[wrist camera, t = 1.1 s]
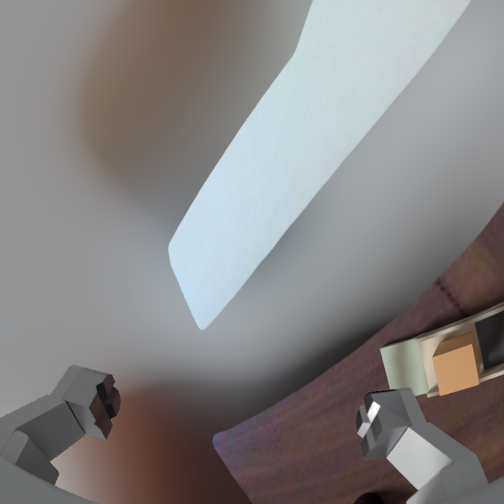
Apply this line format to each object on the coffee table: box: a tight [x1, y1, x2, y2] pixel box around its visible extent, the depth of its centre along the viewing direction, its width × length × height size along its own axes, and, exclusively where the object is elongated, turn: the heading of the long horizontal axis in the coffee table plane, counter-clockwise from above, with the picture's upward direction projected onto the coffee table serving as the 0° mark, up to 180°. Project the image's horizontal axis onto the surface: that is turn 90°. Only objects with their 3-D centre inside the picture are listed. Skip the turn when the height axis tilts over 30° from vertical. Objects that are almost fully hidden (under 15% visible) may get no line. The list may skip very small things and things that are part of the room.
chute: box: [380, 302, 504, 397], centre depth 37 cm, size 25×10×4 cm, turn 109°
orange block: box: [432, 331, 480, 396], centre depth 34 cm, size 6×6×8 cm
